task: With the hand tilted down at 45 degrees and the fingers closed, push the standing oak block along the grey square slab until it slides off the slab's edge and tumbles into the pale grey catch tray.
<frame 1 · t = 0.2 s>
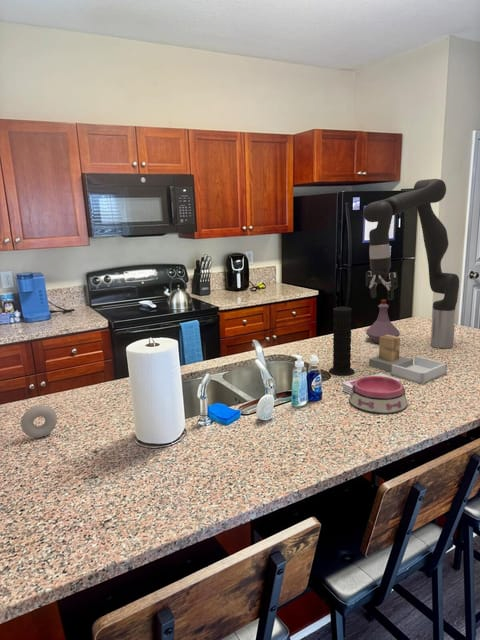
hand: (382, 298, 170), 28 cm above the worktop, tool pointing down, fingers open, 8 cm apart
dog bowl: (377, 403, 146), on the worktop
catch tray: (418, 374, 169), on the worktop
oak block: (388, 358, 179), point 3 cm above the worktop, touching grey square slab
donut: (41, 437, 133), on the worktop
handle grip: (341, 372, 175), on the worktop
grey square slab: (390, 366, 179), on the worktop
flask: (382, 341, 213), on the worktop
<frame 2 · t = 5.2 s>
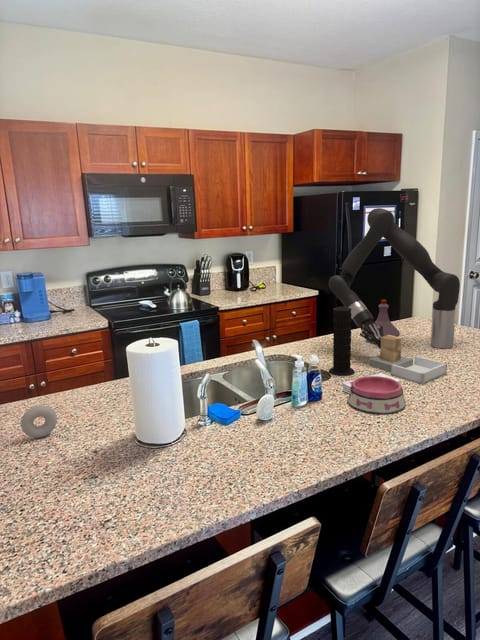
hand: (383, 348, 180), 7 cm above the worktop, tool tilted 45°, fingers closed
oak block: (390, 358, 178), point 3 cm above the worktop, touching gripper
everything else where it was.
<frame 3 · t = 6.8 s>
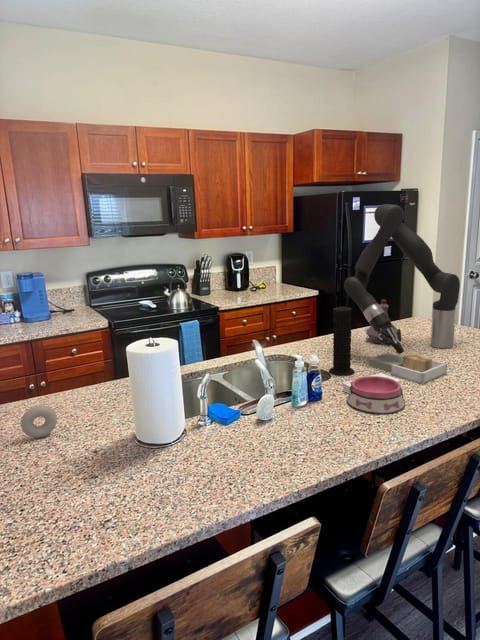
hand: (401, 352, 173), 7 cm above the worktop, tool tilted 45°, fingers closed
oak block: (406, 362, 172), point 4 cm above the worktop, tilted 90°, touching catch tray
everything else where it was.
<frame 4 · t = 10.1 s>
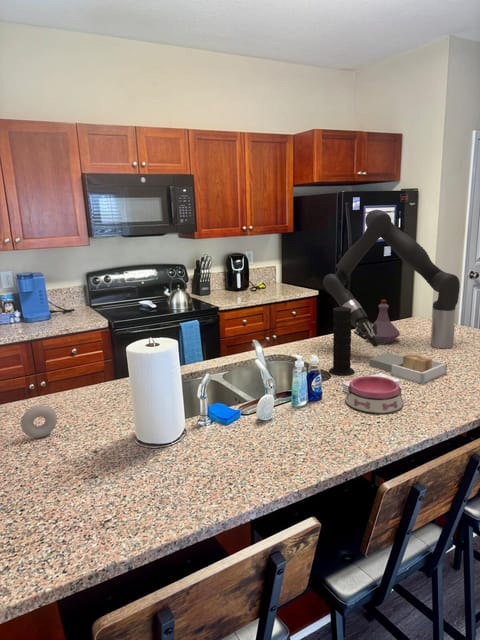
hand: (377, 345, 182), 7 cm above the worktop, tool tilted 45°, fingers closed
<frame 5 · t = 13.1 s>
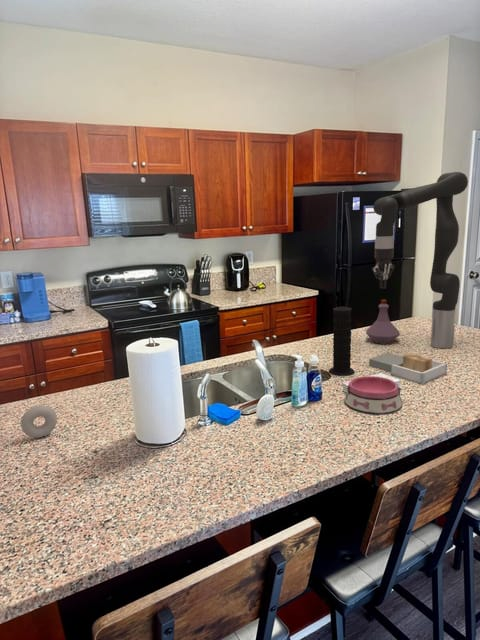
hand: (382, 288, 188), 29 cm above the worktop, tool pointing down, fingers closed
at the end: oak block inside the target area (5.7 cm from its centre), point 3.6 cm above the worktop; oak block moved 8.3 cm from its start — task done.
